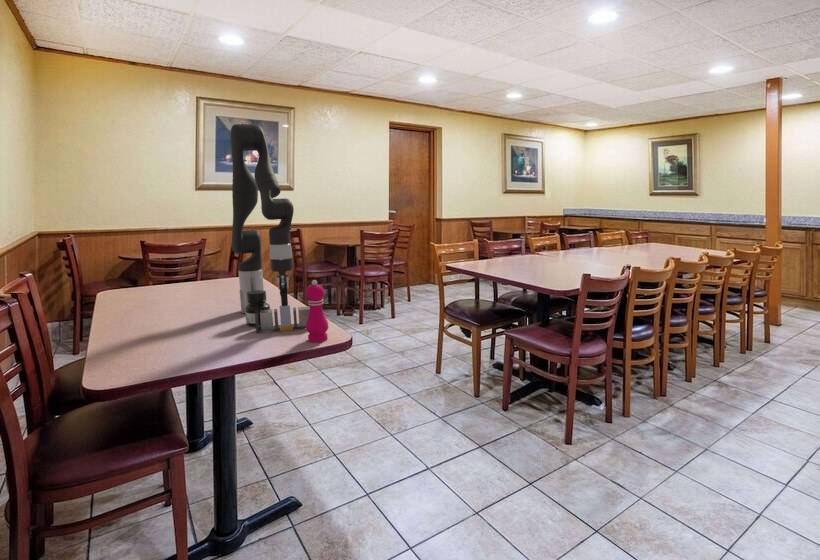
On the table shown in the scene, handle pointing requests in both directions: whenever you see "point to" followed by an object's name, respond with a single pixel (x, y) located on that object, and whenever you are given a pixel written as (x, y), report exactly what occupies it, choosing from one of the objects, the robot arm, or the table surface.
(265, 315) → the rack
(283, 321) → the light grey block
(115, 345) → the table surface
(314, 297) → the pepper mill
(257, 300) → the ink bottle
